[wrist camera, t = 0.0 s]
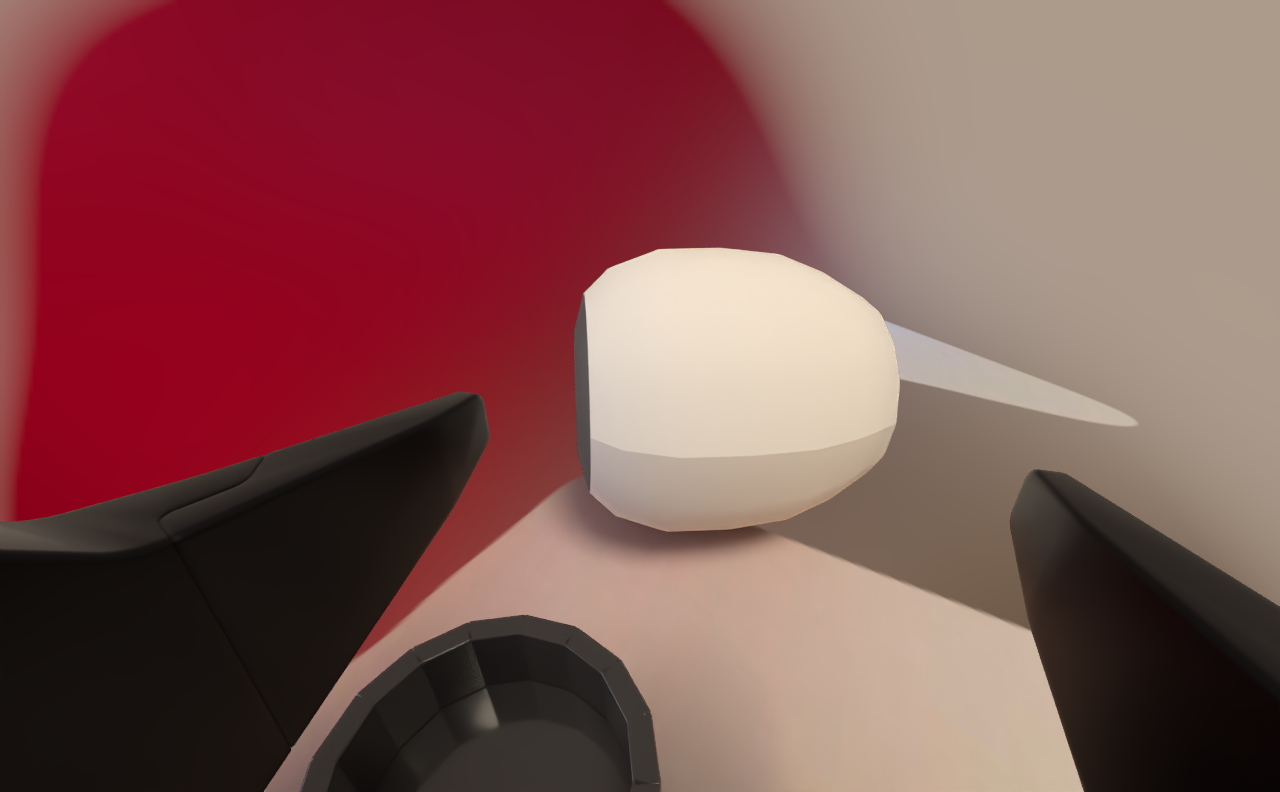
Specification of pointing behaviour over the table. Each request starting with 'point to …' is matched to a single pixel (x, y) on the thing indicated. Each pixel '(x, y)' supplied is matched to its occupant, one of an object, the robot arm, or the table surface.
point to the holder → (495, 718)
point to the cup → (727, 388)
